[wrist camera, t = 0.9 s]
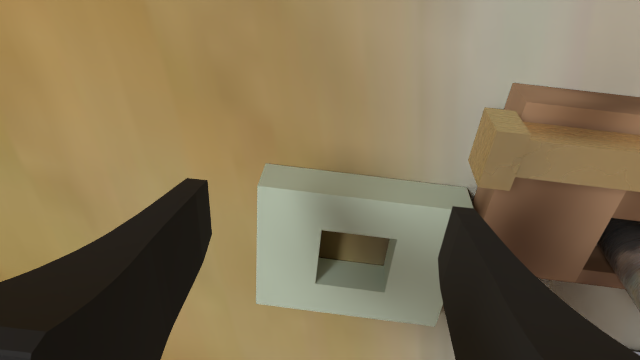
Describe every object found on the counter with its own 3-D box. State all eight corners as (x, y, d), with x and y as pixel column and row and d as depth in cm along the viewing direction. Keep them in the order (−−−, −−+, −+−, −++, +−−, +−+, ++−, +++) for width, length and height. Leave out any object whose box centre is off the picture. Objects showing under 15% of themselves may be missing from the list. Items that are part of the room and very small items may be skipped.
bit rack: (466, 187, 22) (474, 212, 21) (430, 299, 27) (435, 326, 25) (265, 163, 23) (257, 185, 21) (263, 277, 27) (256, 303, 25)
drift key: (670, 128, 17) (702, 155, 16) (640, 180, 19) (667, 210, 17) (484, 107, 18) (496, 131, 16) (468, 160, 19) (478, 187, 17)
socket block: (752, 110, 19) (788, 132, 17) (648, 265, 24) (668, 294, 22) (512, 83, 19) (526, 101, 18) (458, 242, 24) (465, 269, 23)
